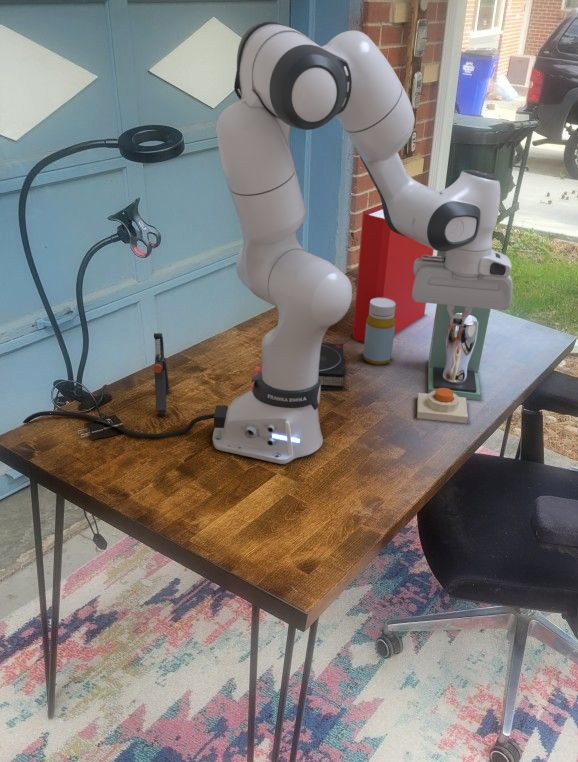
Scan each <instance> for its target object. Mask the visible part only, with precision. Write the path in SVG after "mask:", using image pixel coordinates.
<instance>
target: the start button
mask: <svg viewBox="0 0 578 762" xmlns="http://www.w3.org/2000/svg"><path fill="white" fill-rule="evenodd" d="M453 394H454V393H453V391H452V390H450V389H447V388H438V389H437V390H436V392H435V399H436V400H437V401H440V402H445V403H447V402H451V401H452V399H453Z"/></svg>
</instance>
